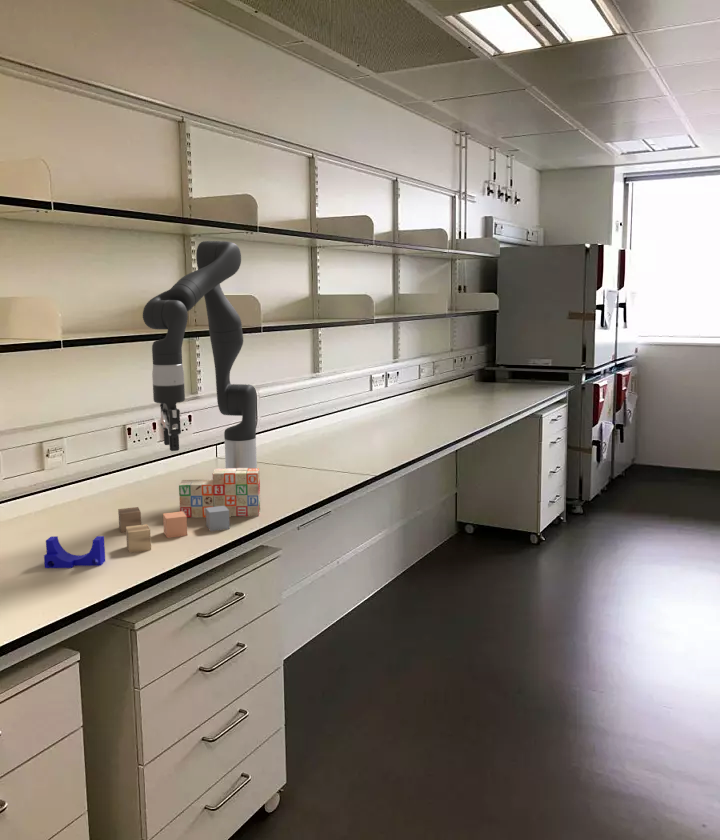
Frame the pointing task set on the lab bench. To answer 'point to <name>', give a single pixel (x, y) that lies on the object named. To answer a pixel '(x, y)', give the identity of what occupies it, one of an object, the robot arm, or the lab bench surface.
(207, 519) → the gray block
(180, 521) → the terracotta block
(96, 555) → the blue cradle bracket
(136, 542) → the oak block
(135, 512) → the tan block
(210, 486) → the stack of blocks
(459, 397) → the lab bench surface
